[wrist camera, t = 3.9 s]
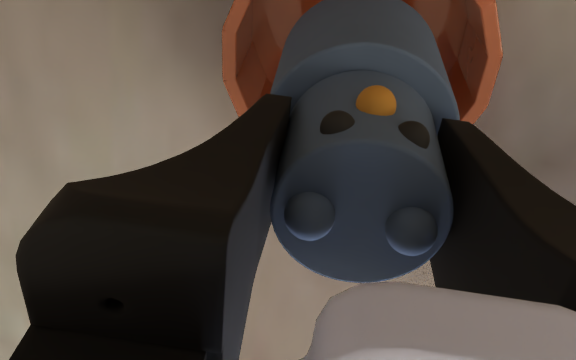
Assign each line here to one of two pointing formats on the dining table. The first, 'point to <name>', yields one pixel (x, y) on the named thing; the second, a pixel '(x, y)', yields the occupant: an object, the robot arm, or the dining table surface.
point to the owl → (362, 142)
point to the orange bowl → (428, 3)
